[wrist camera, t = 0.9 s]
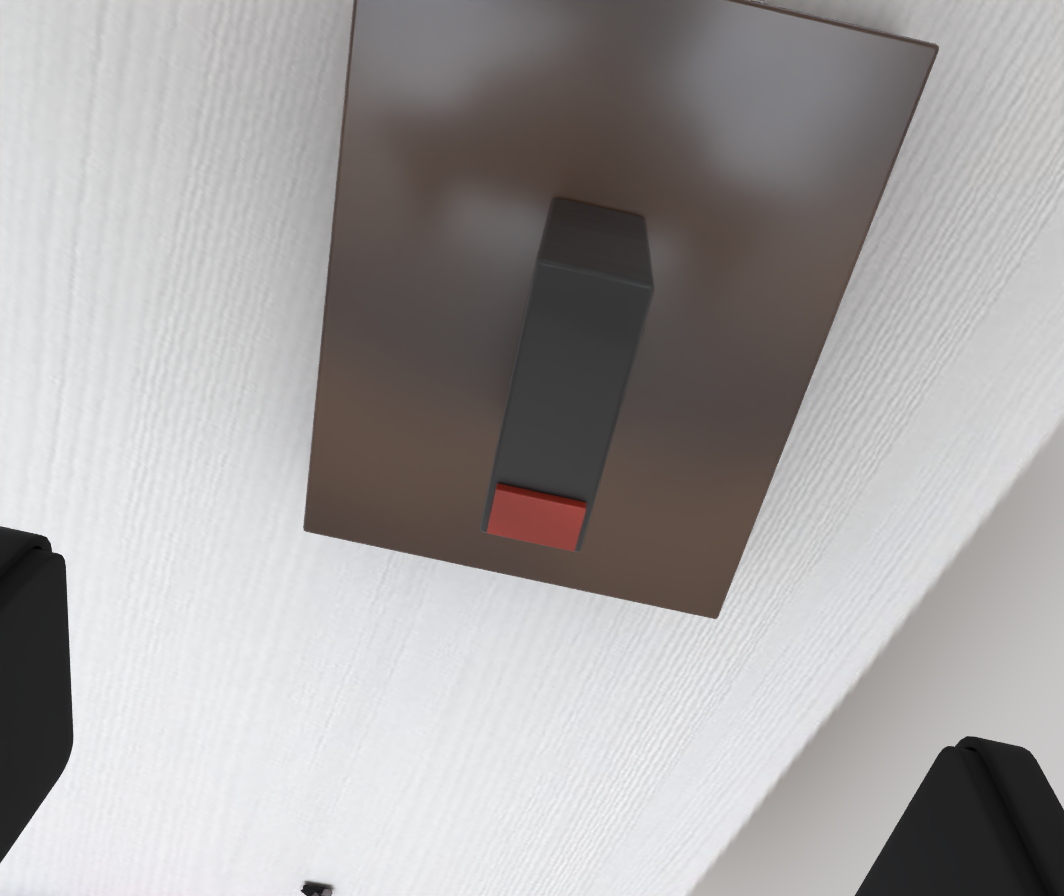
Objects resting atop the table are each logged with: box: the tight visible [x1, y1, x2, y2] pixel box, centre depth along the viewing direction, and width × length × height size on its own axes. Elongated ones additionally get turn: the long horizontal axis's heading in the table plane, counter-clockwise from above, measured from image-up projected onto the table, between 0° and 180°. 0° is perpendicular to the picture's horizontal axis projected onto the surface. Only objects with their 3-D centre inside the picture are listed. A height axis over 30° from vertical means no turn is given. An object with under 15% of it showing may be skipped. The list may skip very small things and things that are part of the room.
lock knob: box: [480, 198, 655, 552], centre depth 18 cm, size 6×2×5 cm, turn 168°
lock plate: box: [303, 0, 939, 619], centre depth 21 cm, size 14×11×2 cm
